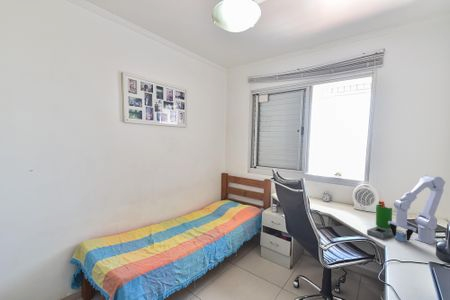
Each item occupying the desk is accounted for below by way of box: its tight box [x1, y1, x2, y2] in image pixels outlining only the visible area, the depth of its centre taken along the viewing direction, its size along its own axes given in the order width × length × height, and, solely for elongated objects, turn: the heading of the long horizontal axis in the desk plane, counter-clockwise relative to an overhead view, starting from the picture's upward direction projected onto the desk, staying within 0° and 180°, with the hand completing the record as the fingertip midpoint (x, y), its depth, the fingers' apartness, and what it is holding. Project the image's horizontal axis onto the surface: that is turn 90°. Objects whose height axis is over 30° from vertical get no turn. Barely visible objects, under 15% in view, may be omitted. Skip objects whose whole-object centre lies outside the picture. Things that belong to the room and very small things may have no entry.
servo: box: [395, 230, 407, 243], centre depth 134 cm, size 7×4×6 cm, turn 117°
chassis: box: [366, 225, 394, 241], centre depth 142 cm, size 14×10×3 cm
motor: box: [375, 200, 393, 229], centre depth 157 cm, size 10×9×20 cm
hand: (401, 238), depth 134 cm, fingers open, 7 cm apart
